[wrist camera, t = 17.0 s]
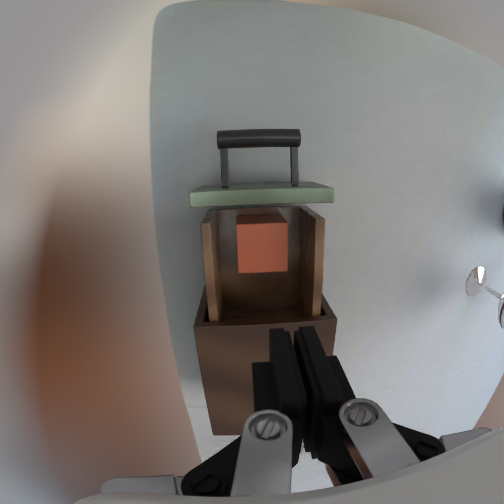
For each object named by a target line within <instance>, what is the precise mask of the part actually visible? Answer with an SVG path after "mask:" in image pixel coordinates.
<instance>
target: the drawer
mask: <svg viewBox="0 0 504 504" xmlns="http://www.w3.org/2000/svg"><path fill="white" fill-rule="evenodd" d="M300 143H301V134H300V130H299V129H247V130H225V131H217V145H218V149H220V156H221V179H222V184H218V185H203V186H201V187H199V188H197V189H195V190H193V191H192V192H190V193H189V199H190V207H191V208H192V207H209V206H228V205H252V204H282V203H333V202H334V188H332V187H328V186H325V185H321V184H317V183H314V182H298V147H299V146H300ZM251 147H290V168H291V182H266V183H238V184H229V172H228V149H227V148H251ZM265 214H281V215H282V216H283V217H284V219H285V220H286V221H287V222H288V271H280V272H259V273H238V259H237V239H236V218H237V216H240V215H265ZM200 225H201V238H202V251H203V262H204V273H205V283H206V293H207V303H208V312H209V321H210V322H230V321H254V320H273V319H289V318H302V317H315V316H320V312H321V298H322V281H323V261H324V232H325V218H323V217H322V216H320V215H319V214H317V213H316V212H314V211H313V210H311V209H310V208H308V207H307V206H278V207H249V208H226V209H210V210H209V212H208V213H207V214H206V216H205V217H204V219H203V220H202V222H201V223H200Z"/></svg>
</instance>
